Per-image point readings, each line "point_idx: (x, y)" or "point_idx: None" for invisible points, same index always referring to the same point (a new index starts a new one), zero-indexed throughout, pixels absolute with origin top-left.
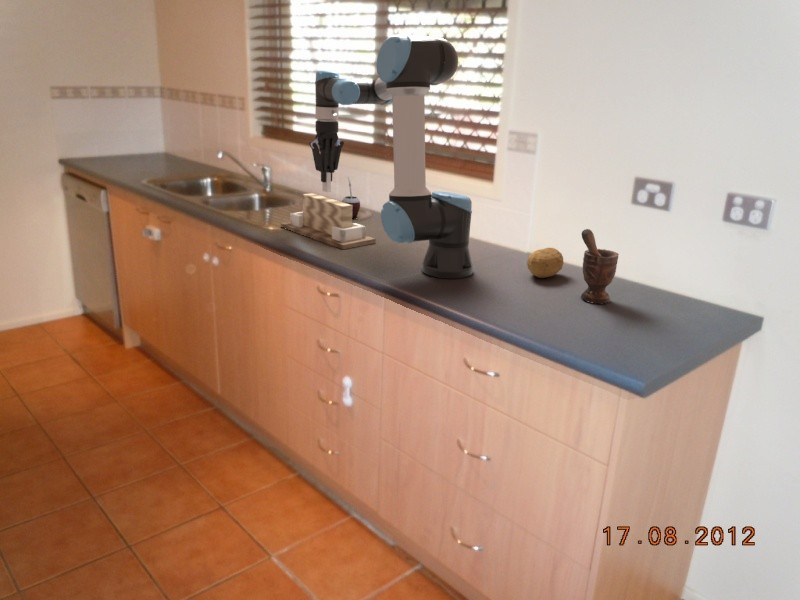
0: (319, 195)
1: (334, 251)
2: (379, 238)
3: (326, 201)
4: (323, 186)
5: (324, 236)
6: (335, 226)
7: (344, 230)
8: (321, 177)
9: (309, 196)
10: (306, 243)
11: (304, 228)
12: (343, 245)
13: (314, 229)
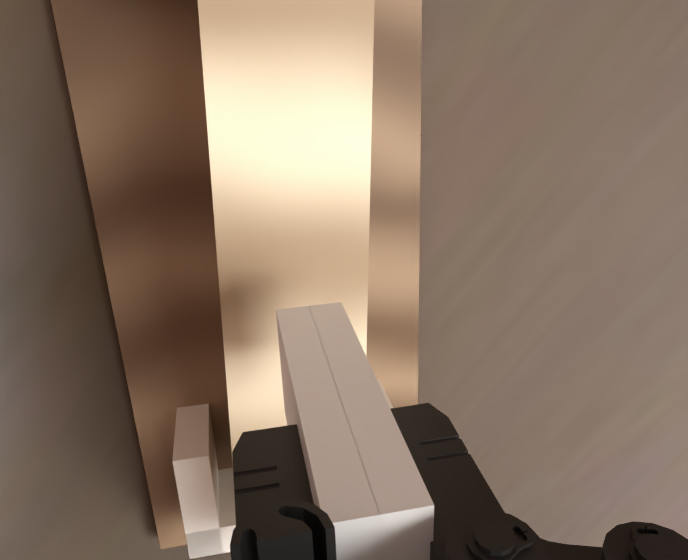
0: (366, 33)
1: (95, 541)
2: (499, 412)
3: (230, 404)
4: (286, 369)
5: (158, 340)
6: (205, 459)
7: (211, 550)
8: (238, 506)
9: (198, 8)
10: (2, 330)
11: (132, 34)
12: (165, 545)
13: (198, 115)
